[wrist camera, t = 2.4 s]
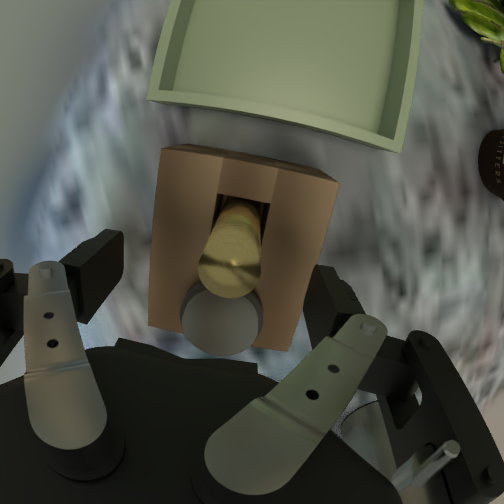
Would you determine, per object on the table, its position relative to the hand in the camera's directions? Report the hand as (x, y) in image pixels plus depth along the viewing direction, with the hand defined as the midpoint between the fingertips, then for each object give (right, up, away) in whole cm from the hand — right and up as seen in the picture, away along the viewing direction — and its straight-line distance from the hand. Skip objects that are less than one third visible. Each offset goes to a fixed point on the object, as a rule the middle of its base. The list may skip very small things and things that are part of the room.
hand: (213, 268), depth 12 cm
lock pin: (+1, +4, +9) cm, 10 cm away
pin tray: (+5, +17, +5) cm, 18 cm away
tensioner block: (0, +2, +11) cm, 12 cm away
